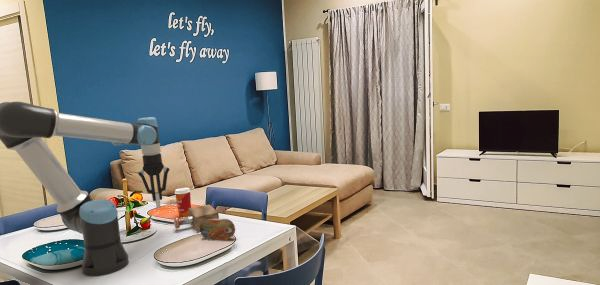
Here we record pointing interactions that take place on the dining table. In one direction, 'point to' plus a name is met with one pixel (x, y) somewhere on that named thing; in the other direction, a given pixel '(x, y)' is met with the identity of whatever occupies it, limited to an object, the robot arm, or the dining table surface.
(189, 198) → the paper cup
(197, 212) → the hitch block
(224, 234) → the mottled brown rounded block
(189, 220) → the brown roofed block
